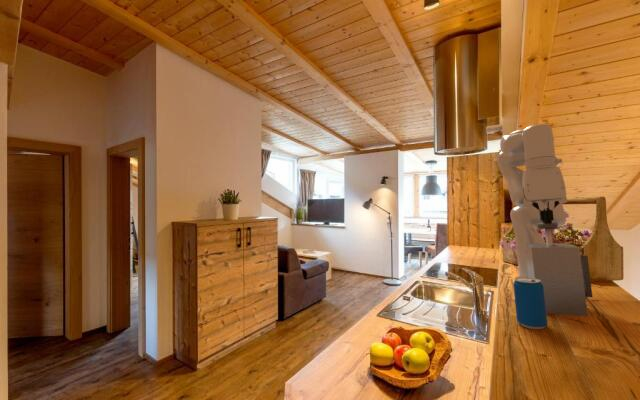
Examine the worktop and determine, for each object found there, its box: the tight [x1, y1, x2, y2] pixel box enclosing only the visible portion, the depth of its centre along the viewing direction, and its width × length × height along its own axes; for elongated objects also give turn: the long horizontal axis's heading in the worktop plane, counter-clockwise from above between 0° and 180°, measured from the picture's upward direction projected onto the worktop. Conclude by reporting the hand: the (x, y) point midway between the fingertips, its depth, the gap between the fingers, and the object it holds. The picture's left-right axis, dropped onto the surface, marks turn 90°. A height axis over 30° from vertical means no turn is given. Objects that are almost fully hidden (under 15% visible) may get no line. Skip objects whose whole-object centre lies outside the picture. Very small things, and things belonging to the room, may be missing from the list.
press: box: [525, 242, 593, 317], centre depth 85 cm, size 11×14×19 cm
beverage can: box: [512, 276, 548, 330], centre depth 74 cm, size 6×6×12 cm
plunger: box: [536, 223, 559, 246], centre depth 86 cm, size 9×9×19 cm
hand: (547, 223), depth 86 cm, fingers closed
